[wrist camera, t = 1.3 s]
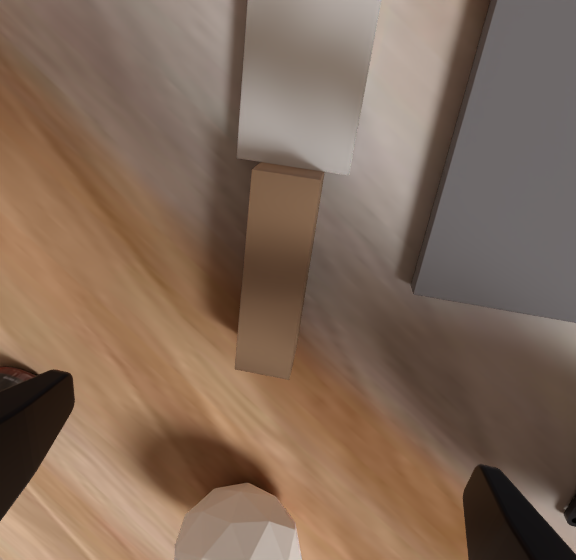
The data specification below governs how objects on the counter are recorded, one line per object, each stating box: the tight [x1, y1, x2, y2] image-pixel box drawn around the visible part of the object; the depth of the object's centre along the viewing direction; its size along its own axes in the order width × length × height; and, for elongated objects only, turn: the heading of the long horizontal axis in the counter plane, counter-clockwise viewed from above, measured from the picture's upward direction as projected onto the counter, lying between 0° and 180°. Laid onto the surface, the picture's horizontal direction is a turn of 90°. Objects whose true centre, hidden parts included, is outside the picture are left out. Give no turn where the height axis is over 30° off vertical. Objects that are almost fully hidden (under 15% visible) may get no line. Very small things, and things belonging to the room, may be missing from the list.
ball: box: [174, 483, 302, 560], centre depth 26 cm, size 8×8×8 cm
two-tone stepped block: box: [235, 0, 381, 380], centre depth 19 cm, size 17×5×3 cm, turn 173°
